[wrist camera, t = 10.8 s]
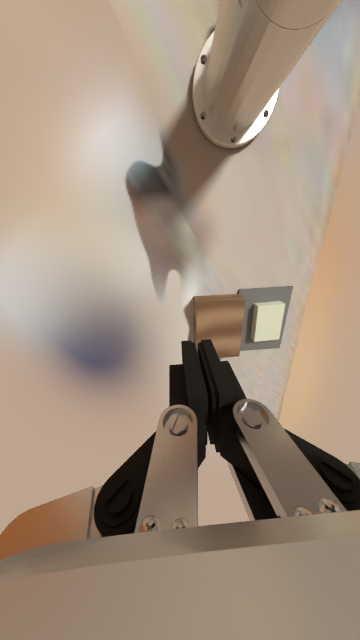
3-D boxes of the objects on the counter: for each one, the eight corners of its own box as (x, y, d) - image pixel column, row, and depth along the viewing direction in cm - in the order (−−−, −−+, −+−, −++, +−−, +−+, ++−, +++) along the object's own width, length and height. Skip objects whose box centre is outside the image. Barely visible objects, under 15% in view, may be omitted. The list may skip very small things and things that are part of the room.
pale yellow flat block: (285, 303, 38) (280, 300, 40) (258, 306, 38) (254, 303, 40) (279, 339, 42) (274, 335, 44) (254, 341, 42) (250, 337, 44)
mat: (238, 289, 39) (239, 289, 38) (291, 286, 39) (292, 286, 39) (233, 350, 45) (233, 351, 45) (278, 346, 46) (279, 347, 45)
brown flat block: (193, 296, 39) (196, 302, 35) (238, 293, 39) (245, 299, 36) (194, 349, 45) (196, 359, 41) (233, 346, 45) (239, 356, 41)
